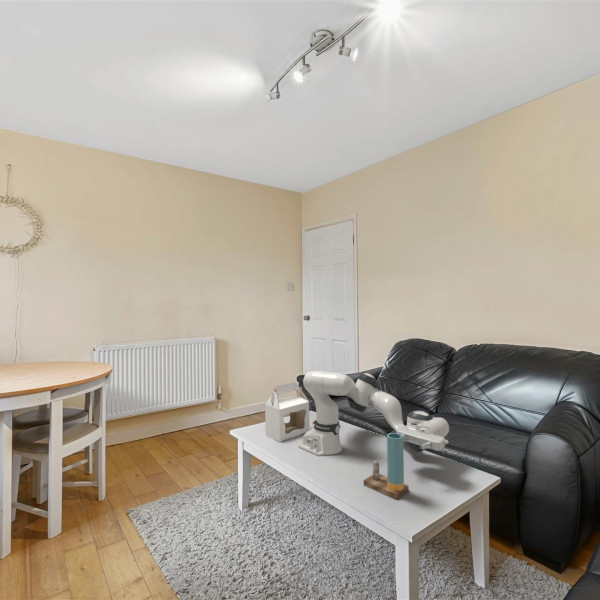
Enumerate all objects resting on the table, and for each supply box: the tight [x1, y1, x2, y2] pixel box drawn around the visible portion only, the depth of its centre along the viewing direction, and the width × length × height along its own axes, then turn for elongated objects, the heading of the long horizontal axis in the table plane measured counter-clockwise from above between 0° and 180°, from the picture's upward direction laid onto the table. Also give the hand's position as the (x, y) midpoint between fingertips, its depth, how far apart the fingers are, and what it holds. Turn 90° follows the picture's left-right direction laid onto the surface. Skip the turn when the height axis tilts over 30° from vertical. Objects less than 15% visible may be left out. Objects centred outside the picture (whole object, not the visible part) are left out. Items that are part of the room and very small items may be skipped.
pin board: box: [363, 460, 409, 501], centre depth 141 cm, size 15×9×9 cm, turn 43°
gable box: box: [264, 381, 310, 443], centre depth 201 cm, size 22×13×28 cm, turn 131°
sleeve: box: [386, 432, 405, 491], centre depth 138 cm, size 6×6×20 cm
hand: (410, 443), depth 146 cm, fingers open, 8 cm apart
